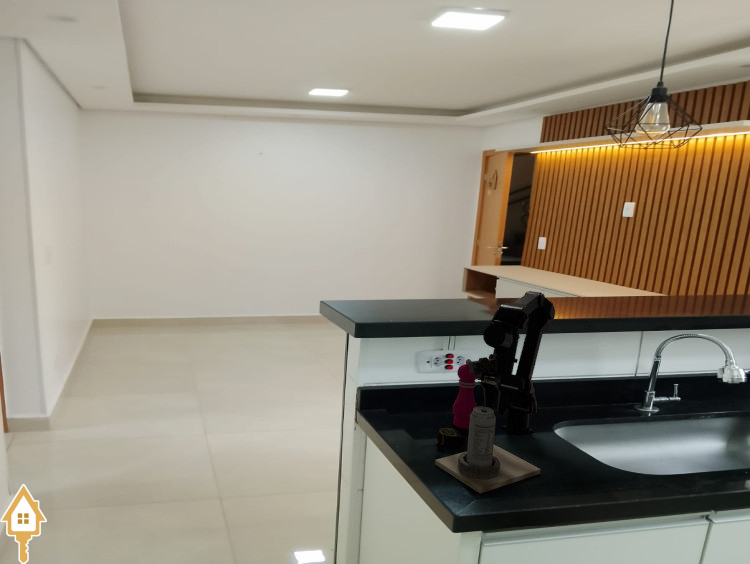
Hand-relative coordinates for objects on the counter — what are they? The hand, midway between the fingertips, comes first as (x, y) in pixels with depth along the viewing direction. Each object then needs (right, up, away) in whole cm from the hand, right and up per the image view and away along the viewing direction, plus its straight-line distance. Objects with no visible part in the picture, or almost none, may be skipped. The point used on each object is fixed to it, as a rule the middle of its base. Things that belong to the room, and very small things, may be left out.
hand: (493, 412), depth 145 cm
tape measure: (-10, -11, +8) cm, 17 cm away
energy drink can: (-5, -12, -9) cm, 16 cm away
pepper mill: (-4, -9, +22) cm, 24 cm away
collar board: (-3, -13, -6) cm, 14 cm away
